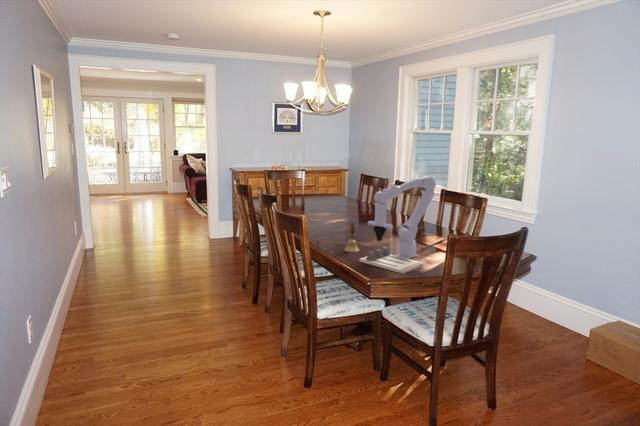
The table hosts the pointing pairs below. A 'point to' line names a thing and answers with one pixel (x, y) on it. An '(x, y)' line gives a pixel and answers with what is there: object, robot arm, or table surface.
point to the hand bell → (352, 241)
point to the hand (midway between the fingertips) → (379, 240)
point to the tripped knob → (378, 253)
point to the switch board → (394, 263)
